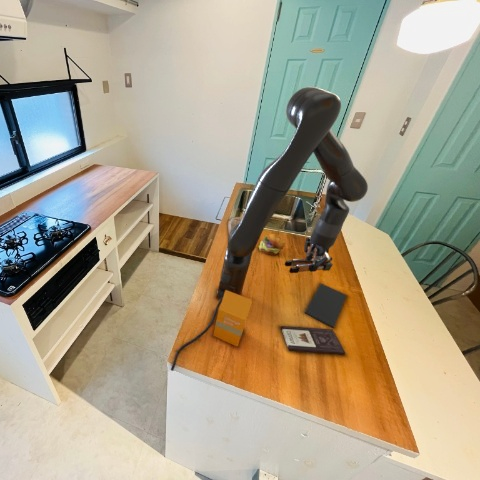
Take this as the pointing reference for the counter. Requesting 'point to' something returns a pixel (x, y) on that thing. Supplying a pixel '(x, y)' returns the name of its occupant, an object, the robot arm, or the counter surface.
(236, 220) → the fish fossil
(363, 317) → the counter surface
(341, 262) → the counter surface
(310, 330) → the chocolate bar
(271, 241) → the cheeseburger
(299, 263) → the tongs
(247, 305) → the orange juice
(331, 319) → the mat
